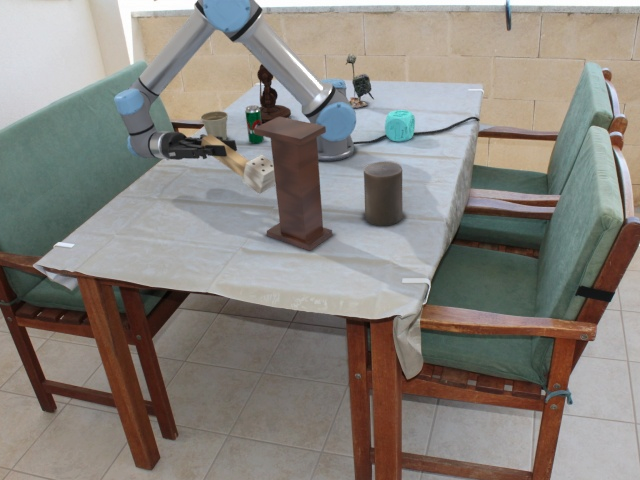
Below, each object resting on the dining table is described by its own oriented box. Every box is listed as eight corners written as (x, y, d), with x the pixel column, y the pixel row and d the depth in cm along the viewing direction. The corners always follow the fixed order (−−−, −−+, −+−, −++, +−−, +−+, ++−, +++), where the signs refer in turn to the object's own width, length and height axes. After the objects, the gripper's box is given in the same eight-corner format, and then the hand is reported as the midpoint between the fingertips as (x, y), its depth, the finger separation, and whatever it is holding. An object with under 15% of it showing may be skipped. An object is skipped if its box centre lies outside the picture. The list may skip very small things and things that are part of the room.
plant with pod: (371, 109, 240) (370, 54, 229) (341, 108, 243) (339, 54, 232) (375, 102, 246) (374, 48, 236) (346, 101, 249) (344, 48, 239)
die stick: (274, 185, 166) (279, 166, 161) (259, 194, 162) (264, 174, 157) (212, 142, 172) (215, 122, 168) (196, 149, 168) (199, 129, 164)
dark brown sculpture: (253, 113, 245) (247, 60, 234) (292, 111, 244) (287, 57, 233) (249, 127, 232) (241, 71, 221) (289, 125, 231) (284, 68, 221)
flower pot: (226, 145, 218) (222, 120, 214) (200, 144, 220) (196, 120, 216) (234, 135, 226) (231, 111, 222) (209, 134, 228) (205, 111, 224)
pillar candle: (392, 229, 162) (391, 174, 154) (358, 221, 167) (356, 167, 159) (408, 212, 169) (409, 159, 161) (375, 205, 174) (374, 153, 166)
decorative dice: (384, 140, 213) (384, 117, 208) (391, 132, 219) (391, 109, 215) (408, 142, 210) (408, 119, 206) (414, 133, 216) (415, 110, 212)
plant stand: (332, 235, 162) (325, 126, 146) (310, 251, 156) (300, 138, 141) (289, 221, 169) (279, 116, 154) (266, 236, 163) (253, 128, 148)
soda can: (266, 139, 221) (262, 105, 214) (260, 145, 217) (256, 110, 210) (252, 138, 222) (248, 104, 216) (246, 144, 218) (242, 109, 212)
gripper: (195, 148, 186) (254, 151, 172) (152, 168, 175) (211, 173, 161) (188, 123, 183) (247, 124, 169) (143, 142, 172) (203, 144, 158)
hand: (229, 148), depth 165 cm, fingers closed on die stick, 3 cm apart
